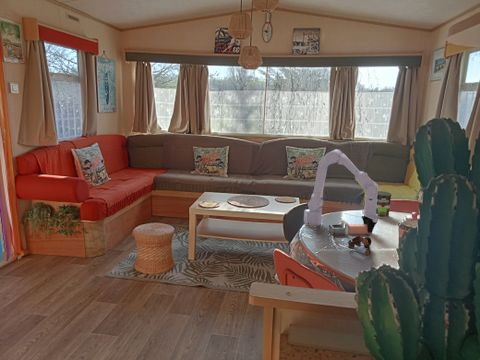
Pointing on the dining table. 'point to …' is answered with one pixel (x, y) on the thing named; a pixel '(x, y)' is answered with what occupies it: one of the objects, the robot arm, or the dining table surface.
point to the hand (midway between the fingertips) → (368, 231)
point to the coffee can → (383, 204)
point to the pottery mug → (358, 241)
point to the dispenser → (342, 229)
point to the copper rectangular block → (357, 229)
